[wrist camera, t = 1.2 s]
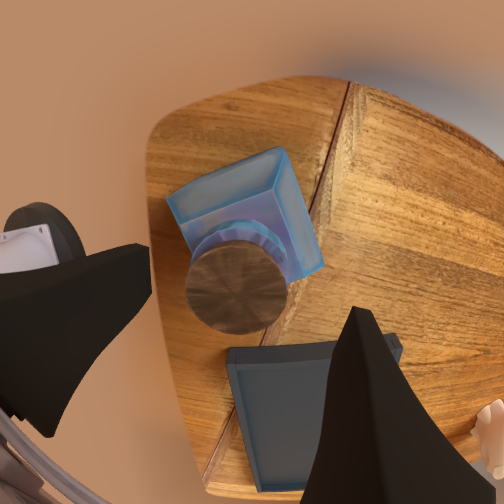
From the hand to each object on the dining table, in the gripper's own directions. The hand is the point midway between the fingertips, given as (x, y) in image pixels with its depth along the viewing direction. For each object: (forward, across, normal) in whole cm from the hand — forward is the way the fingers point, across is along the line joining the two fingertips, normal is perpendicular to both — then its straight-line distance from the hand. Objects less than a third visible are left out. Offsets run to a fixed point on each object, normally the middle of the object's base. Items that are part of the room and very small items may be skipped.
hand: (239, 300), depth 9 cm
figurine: (+21, -46, +29) cm, 58 cm away
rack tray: (+11, -9, +29) cm, 32 cm away
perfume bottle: (+11, +3, 0) cm, 12 cm away
